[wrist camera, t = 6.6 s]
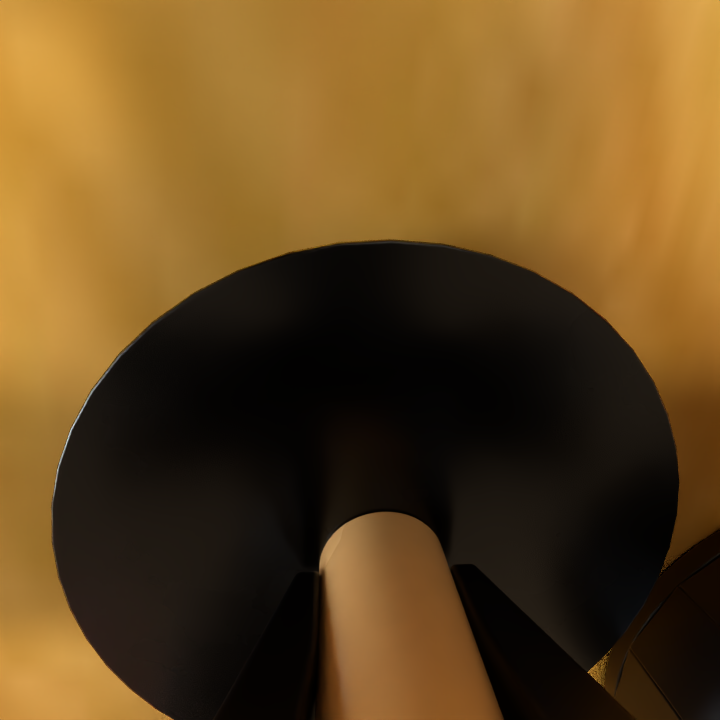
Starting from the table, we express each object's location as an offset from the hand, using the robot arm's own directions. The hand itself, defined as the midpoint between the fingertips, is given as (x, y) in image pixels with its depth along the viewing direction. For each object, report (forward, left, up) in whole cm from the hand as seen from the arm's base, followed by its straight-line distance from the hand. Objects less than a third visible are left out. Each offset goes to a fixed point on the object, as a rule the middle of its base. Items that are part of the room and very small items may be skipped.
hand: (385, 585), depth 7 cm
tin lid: (0, 0, -1) cm, 1 cm away
